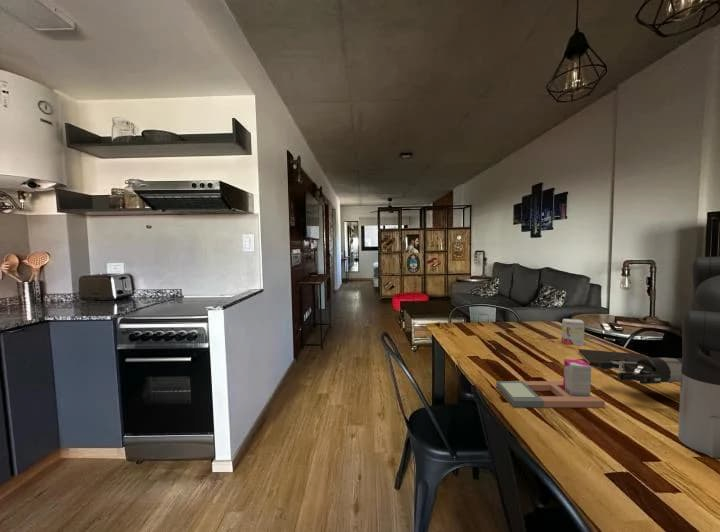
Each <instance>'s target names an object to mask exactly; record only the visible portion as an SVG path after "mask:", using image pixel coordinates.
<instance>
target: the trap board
mask: <svg viewBox="0 0 720 532" xmlns="http://www.w3.org/2000/svg"><path fill="white" fill-rule="evenodd" d="M563 382H564V380H555V381H554V380H550V381H549V380H545V381H544V380H539V381H538V380H536V381H535V380H529V381H528V380H520V381H519V380H497V381H496V388H497V389H498V391H500V393H501V394H502V395H503V396H504V397H505V398H506V400H507V401H508V402H509V404H510V405H512V407H513V408H586V409H587V408H593V409H594V408H598V409H599V408H602V409H603V408H605V403H606V401H605V400H603V399H602V398H600V397H599V396H598V395H597V396H594V395H593V396H592V395H590V396H570V395H569V394H568V393H566V392H565V391H564V390H563ZM536 391H537V392H541V391H542V392H543V391H545V392H547V391H549V392H551V393H553V394H554V396H550V395H549V396H547V395H545V396H540V395H538V394H537V393H536Z"/></svg>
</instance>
